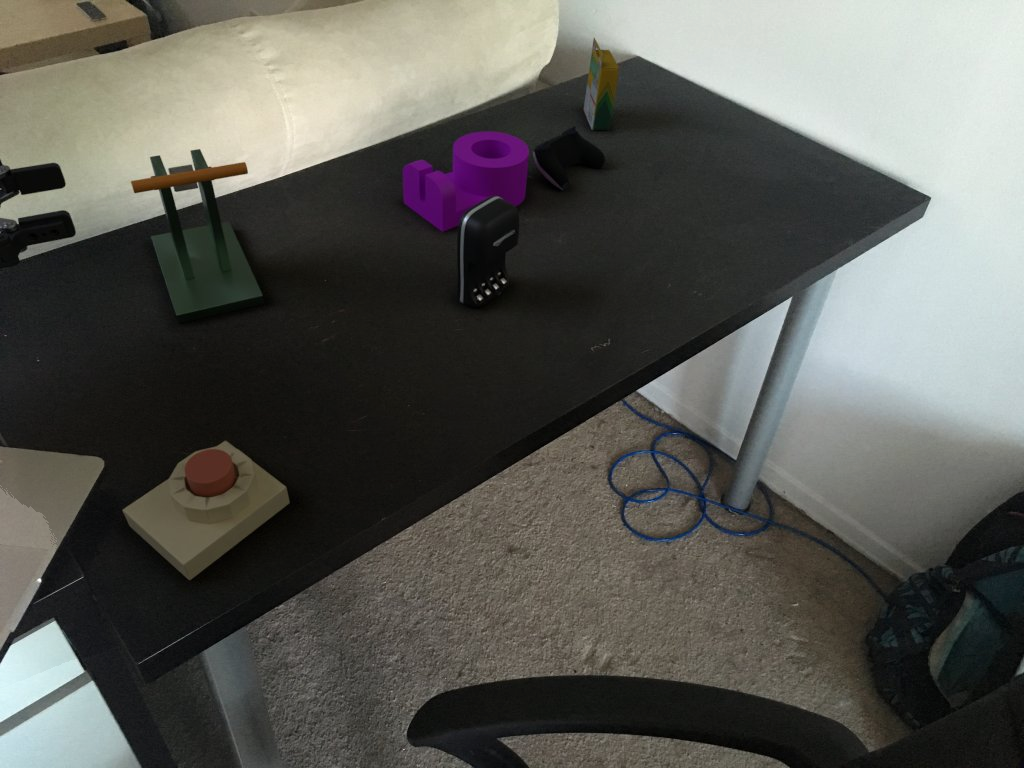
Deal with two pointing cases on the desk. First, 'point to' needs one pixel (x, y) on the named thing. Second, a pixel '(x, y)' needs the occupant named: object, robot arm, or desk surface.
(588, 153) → the gaming controller
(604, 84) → the crayon box
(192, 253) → the switch bracket
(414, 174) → the purple bearing bracket
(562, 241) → the desk surface
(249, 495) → the stop housing
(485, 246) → the battery charger
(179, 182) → the lever
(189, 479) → the stop button
